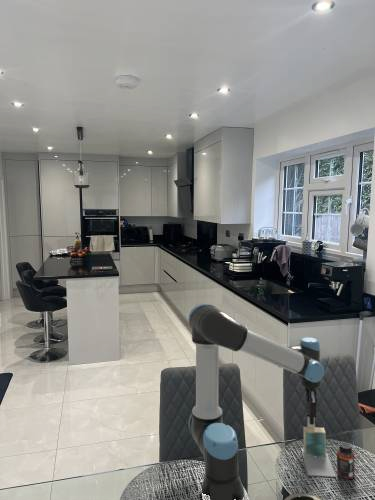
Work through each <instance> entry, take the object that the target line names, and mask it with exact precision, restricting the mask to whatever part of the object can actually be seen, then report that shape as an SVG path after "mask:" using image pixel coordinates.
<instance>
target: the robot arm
mask: <svg viewBox="0 0 375 500" xmlns="http://www.w3.org/2000/svg"><path fill="white" fill-rule="evenodd" d="M188 324H189V327H190V329H191V342H192V343H193V344H194V345H195V405H194V406H193V407H192V410H191V414H190V416H189V420H188V429H189V432H190V435H191V436H192V438H193V441H195V443H196V445H197V446H198V448H199V451H200V452H201V454H202V455H203V458H204V476H203V480H202V484H201V486H202V487H200V489H201V488H202V493H203V494H206V495H209V496H210V499H211V500H234V499H236V500H242V499H243V497H244V498H245V489H244V486H243V485H244V484H243V483H242V480H241V477H240V475H239V441H238V437H237V436H238V435H237V432H236V430H235V429H234V428H233V427H232V426H231V425H228V424H225V423H223V409H222V407H220V405H219V379H220V376H219V373H220V372H219V369H220V368H219V366H220V365H219V363H220V361H219V359H220V358H219V354H220V353H219V350H220V349H219V347H223V348H225V349H228V350H230V351H233V352H239V351H241V352H243V353H246V354H248V355H250V356H253V357H255V358H257V359H260V360H263V361H265V362H267V363H270V364H272V365H275V366H277V367H278V368H282V369H284V370H287V371H289V372H291V373H294V374H296V375H297V376H300V384H301V385H302V386H303V387H304V391H305V404H306V405H305V409H306V413H307V414H306V417H307V427H316V418H317V403H318V398H317V393H318V392H317V390H316V389H317V388H319V387H321V380H322V379H323V378H324V376H325V368H324V365H323V364H322V363H321V361H320V360H321V359H320V358H321V356H320V355H321V353H320V351H321V349H320V341H319V339H317V338H314V337H302V338H300V343H299V344H297V345H289V346H284V345H283V344H280V343H278V342H276V341H275V340H272V339H269V338H268V337H265V336H263V335H261V334H259V333H256V332H254V331H252V330H249V329H248V327H247V326H246V325H245V324H243V323H241V322H239V321H237V320H236V319H235V318H233V317H231V316H230V315H229V314H227V313H226V312H224V311H223V310H220V309H219V308H217V307H216V306H215V305H213V304H209V303H200V304H197V305H195V306H194V307H193V308H192V309H191V310H190V312H189V314H188Z"/></svg>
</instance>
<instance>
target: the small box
mask: <svg viewBox="0 0 375 500" xmlns="http://www.w3.org/2000/svg"><path fill="white" fill-rule="evenodd" d="M302 430H303V448H304V453H305V455H306V456H323V457H326V451H327V446H326V445H327V444H326V443H327V439H326V438H327V435H326V434H327V433H326V430H325V427H317V426H315V427H308V426H303V429H302Z"/></svg>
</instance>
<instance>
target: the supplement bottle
mask: <svg viewBox="0 0 375 500" xmlns="http://www.w3.org/2000/svg"><path fill="white" fill-rule="evenodd" d="M355 464H356V463H355V452H354V451H353V450H352V445H351V444H350V443H348V442H345V441H344V442H340V443H339V447H338V449H337V450H336V471H337V474H338V475H339V477H341V478H343V479H345V480H351V479H354V477H355V471H356V470H355Z"/></svg>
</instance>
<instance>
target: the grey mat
mask: <svg viewBox="0 0 375 500" xmlns="http://www.w3.org/2000/svg"><path fill="white" fill-rule="evenodd" d="M300 451H302V452H301V455H302V458H303V463H304V467H305V470H306V474H307V476H308V477H309V476H310V477H321V476H322V477H321V478H323V477H324V478H325V477H326V478H336V477H337V475H336V473H335V470H334V467H333V465H332V462H331V459H330V456H329V454H328V452H327V453H326V456H327V457H324V458H325V459H324V458H322V457H323V456H322V457H321V456H316V457H315V456H306V455H305V453H304V447H301V448H300Z"/></svg>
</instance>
